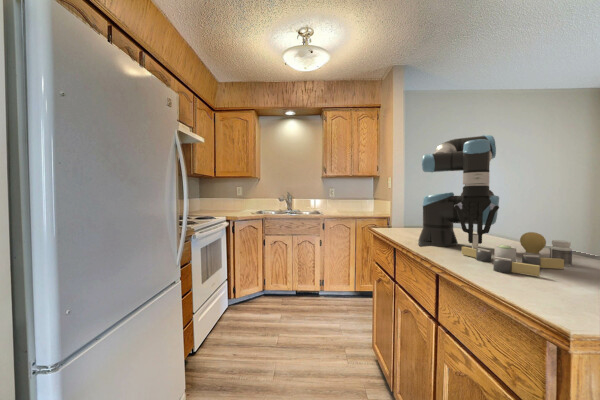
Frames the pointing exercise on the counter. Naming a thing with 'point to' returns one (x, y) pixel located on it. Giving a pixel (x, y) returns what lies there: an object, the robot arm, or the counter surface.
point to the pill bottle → (561, 251)
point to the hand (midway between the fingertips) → (474, 252)
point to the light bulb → (532, 243)
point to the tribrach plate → (505, 252)
